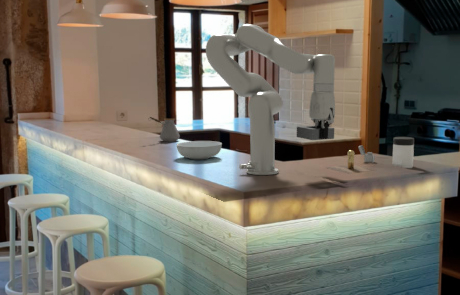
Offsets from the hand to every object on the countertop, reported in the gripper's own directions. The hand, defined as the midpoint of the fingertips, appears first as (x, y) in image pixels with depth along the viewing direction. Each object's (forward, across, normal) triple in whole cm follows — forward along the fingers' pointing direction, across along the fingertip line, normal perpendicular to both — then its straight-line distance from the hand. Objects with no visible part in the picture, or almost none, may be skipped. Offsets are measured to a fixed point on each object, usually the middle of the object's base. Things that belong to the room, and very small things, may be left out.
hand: (321, 138), depth 204 cm
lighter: (+15, -13, +34) cm, 40 cm away
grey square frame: (0, -4, 0) cm, 4 cm away
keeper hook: (+14, -3, +17) cm, 22 cm away
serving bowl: (+17, -65, -20) cm, 70 cm away
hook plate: (+15, -3, +18) cm, 23 cm away
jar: (+15, -1, +44) cm, 46 cm away
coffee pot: (+18, -128, -12) cm, 130 cm away
